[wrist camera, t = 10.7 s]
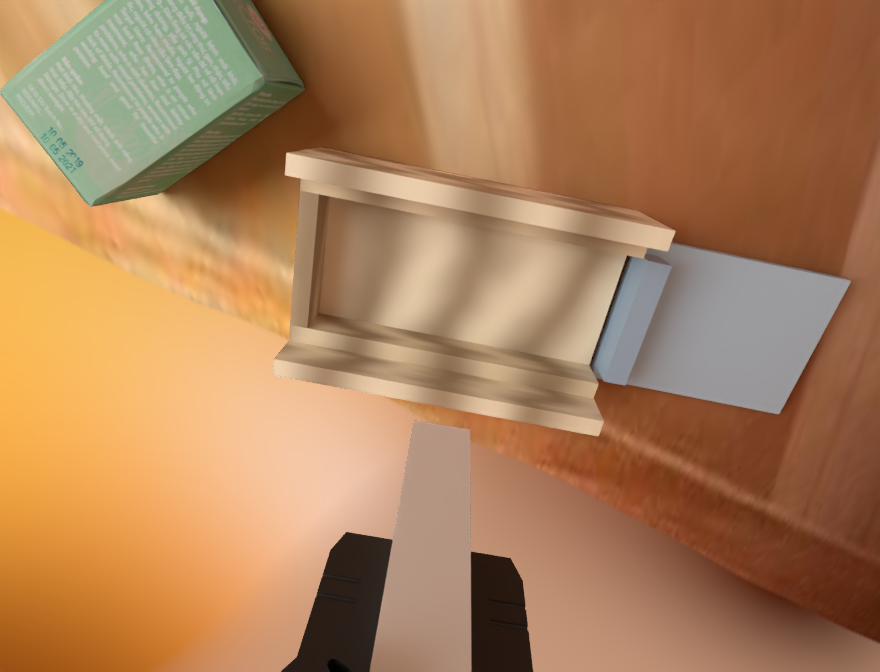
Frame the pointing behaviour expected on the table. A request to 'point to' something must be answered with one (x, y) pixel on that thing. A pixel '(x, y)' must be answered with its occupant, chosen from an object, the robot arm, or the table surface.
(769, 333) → the cover plate
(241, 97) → the box
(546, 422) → the case
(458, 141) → the table surface
